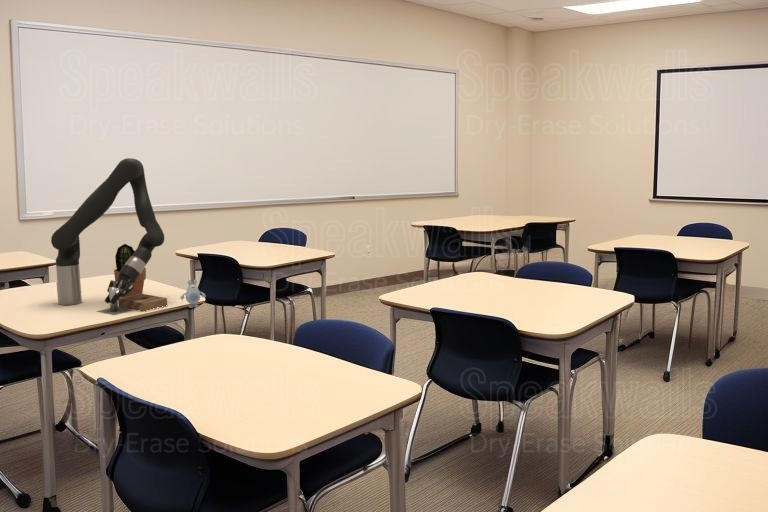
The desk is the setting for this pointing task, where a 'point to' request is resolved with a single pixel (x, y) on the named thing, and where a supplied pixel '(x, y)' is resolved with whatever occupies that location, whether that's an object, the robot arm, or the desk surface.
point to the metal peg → (111, 293)
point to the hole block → (142, 302)
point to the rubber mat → (120, 310)
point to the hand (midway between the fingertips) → (109, 302)
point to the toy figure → (192, 294)
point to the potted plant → (121, 258)
